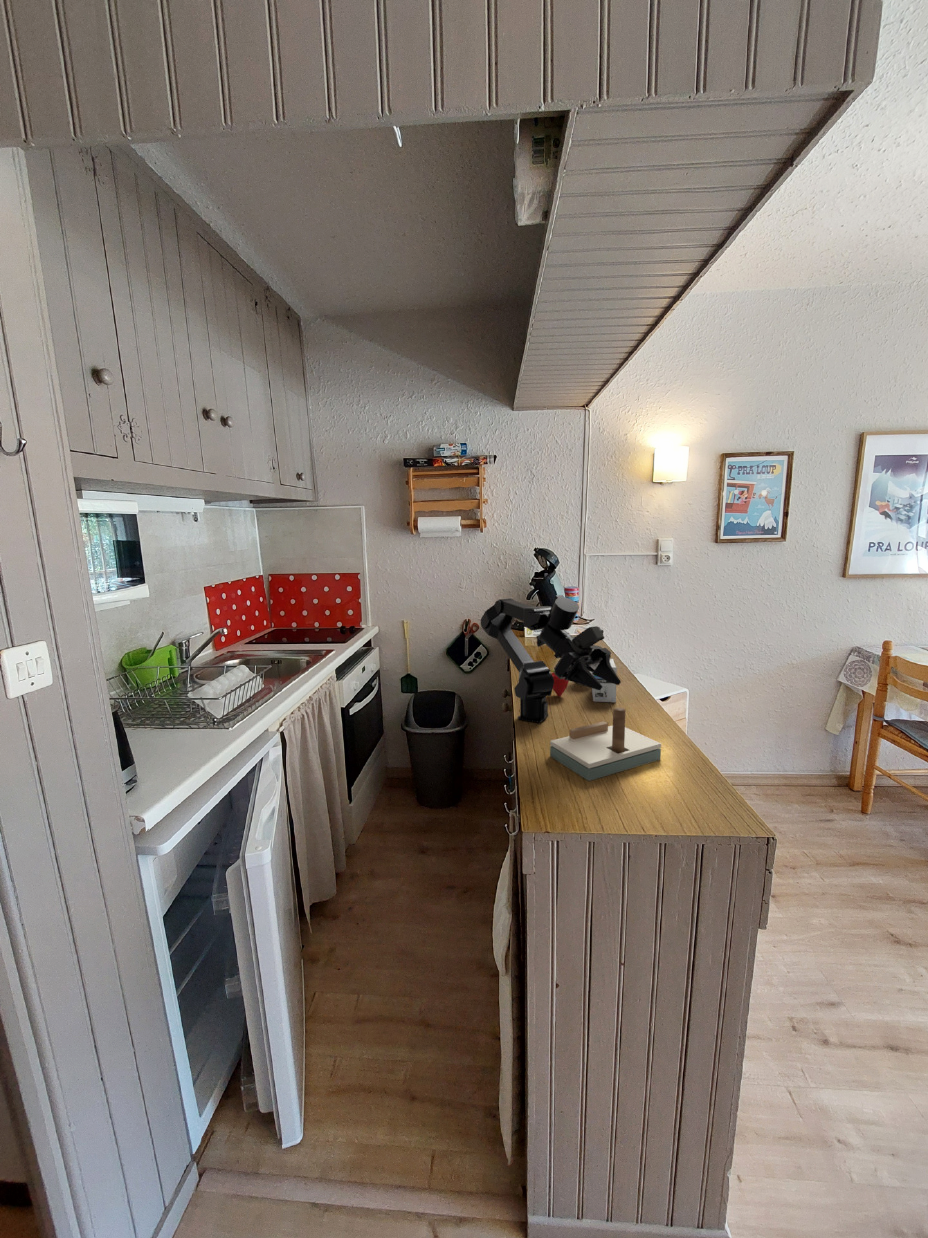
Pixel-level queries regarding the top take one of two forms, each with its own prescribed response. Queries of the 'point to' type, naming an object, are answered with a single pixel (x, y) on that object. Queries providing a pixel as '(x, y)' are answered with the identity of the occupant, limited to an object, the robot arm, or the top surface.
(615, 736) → the brown wooden peg
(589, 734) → the lid
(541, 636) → the robot arm
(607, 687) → the light bulb box
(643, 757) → the teal box base
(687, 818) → the top surface
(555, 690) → the strawberry
